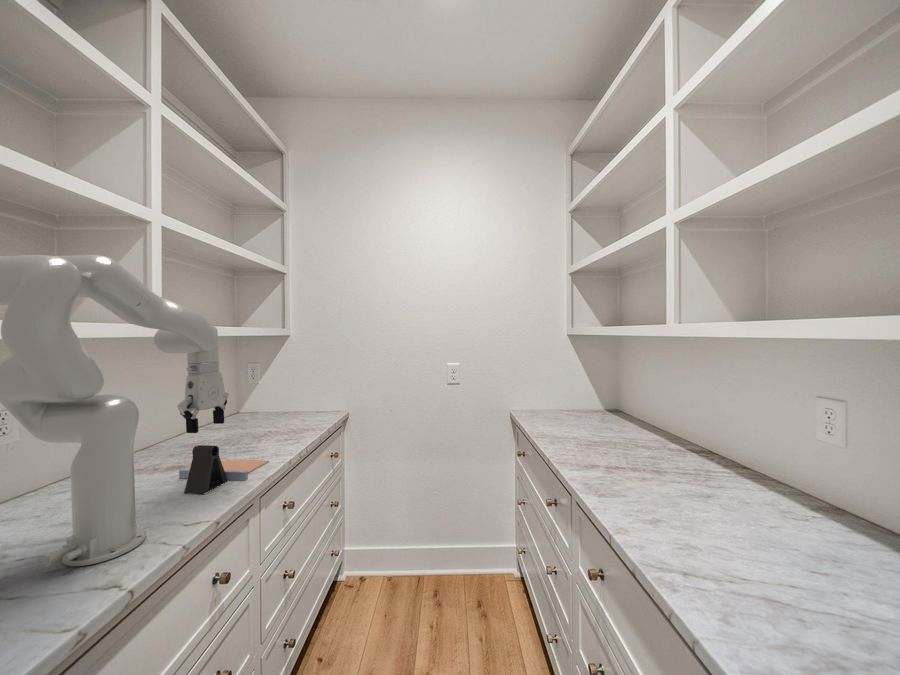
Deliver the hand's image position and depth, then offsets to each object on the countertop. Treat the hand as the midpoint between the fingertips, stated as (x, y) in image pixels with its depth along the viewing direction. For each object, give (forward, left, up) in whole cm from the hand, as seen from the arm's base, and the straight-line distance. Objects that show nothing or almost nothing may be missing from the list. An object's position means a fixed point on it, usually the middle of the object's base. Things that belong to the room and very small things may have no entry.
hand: (206, 427), depth 107 cm
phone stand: (0, 0, -17) cm, 17 cm away
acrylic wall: (+6, +3, -17) cm, 18 cm away
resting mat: (+15, +3, -17) cm, 23 cm away
